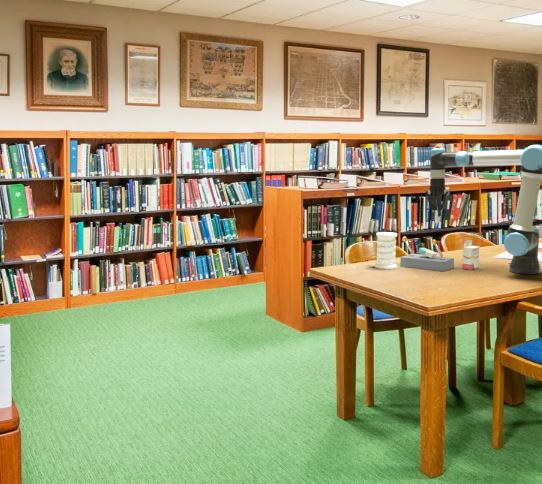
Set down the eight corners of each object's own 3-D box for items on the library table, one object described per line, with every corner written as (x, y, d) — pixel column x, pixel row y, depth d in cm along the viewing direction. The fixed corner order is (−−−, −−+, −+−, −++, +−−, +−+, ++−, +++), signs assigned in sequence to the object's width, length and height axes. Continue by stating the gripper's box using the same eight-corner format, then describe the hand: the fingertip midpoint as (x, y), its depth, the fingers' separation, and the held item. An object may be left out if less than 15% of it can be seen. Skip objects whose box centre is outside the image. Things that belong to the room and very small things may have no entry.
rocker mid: (435, 256, 342) (436, 252, 341) (431, 258, 338) (432, 254, 337) (422, 251, 346) (423, 247, 345) (418, 252, 342) (419, 248, 342)
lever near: (445, 254, 337) (435, 238, 339) (443, 255, 335) (433, 238, 337) (441, 257, 339) (431, 240, 341) (439, 257, 337) (429, 241, 339)
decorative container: (401, 267, 340) (402, 234, 337) (384, 269, 334) (385, 235, 332) (386, 264, 350) (387, 231, 347) (370, 266, 344) (371, 233, 341)
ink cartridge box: (470, 270, 334) (472, 242, 332) (462, 269, 337) (463, 241, 335) (478, 268, 340) (480, 240, 338) (470, 266, 343) (471, 239, 341)
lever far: (415, 251, 347) (406, 235, 349) (413, 252, 345) (404, 236, 347) (411, 253, 349) (402, 237, 351) (409, 254, 347) (400, 238, 349)
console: (453, 267, 341) (454, 256, 340) (443, 271, 330) (443, 260, 329) (411, 262, 356) (412, 251, 355) (400, 266, 345) (400, 255, 344)
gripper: (452, 177, 337) (451, 222, 340) (428, 177, 345) (428, 221, 348) (446, 178, 331) (446, 223, 334) (422, 178, 339) (422, 222, 342)
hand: (437, 222), depth 341 cm, fingers closed
